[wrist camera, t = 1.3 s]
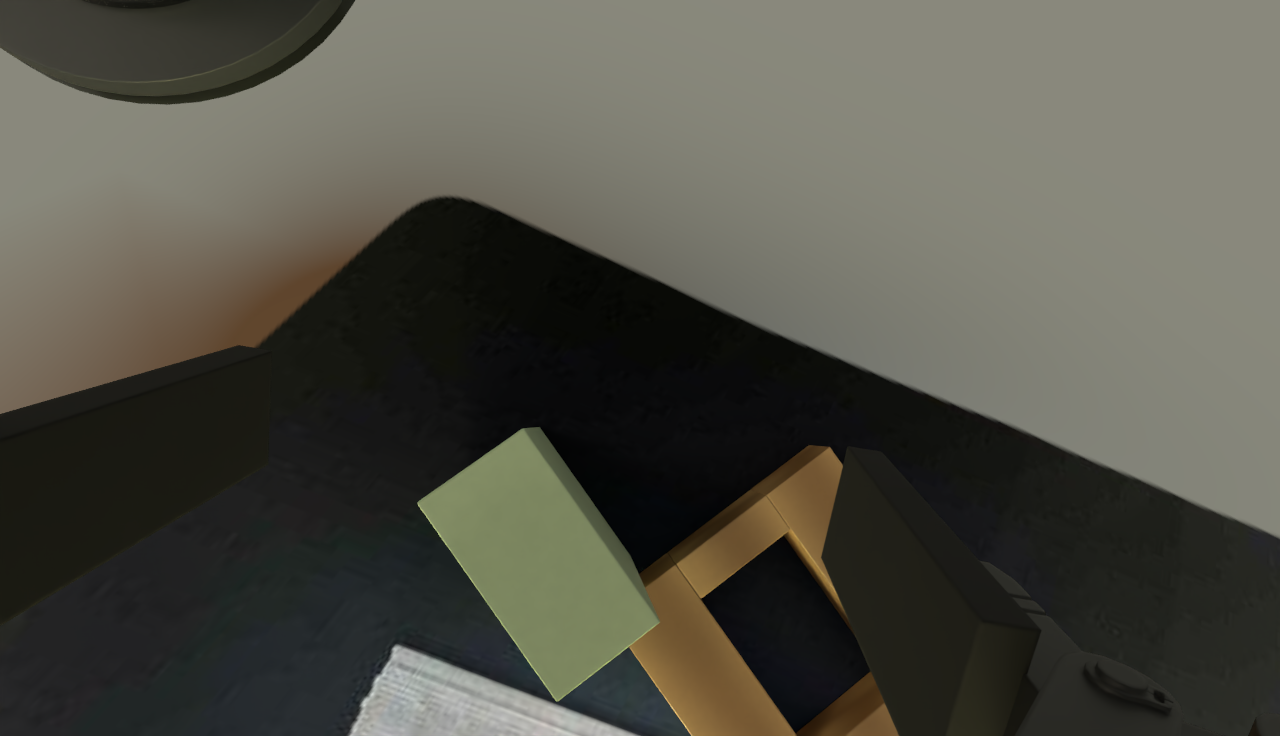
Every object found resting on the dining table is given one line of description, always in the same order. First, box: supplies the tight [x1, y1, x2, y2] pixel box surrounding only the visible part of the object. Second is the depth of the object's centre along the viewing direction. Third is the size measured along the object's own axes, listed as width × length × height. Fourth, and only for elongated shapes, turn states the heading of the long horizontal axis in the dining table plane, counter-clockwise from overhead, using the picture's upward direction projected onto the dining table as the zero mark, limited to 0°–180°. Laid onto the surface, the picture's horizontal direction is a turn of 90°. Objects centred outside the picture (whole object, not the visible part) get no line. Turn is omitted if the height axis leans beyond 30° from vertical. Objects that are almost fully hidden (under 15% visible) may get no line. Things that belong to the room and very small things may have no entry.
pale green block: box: [418, 427, 660, 701], centre depth 29 cm, size 4×8×12 cm, turn 35°
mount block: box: [629, 445, 899, 736], centre depth 35 cm, size 14×14×3 cm
